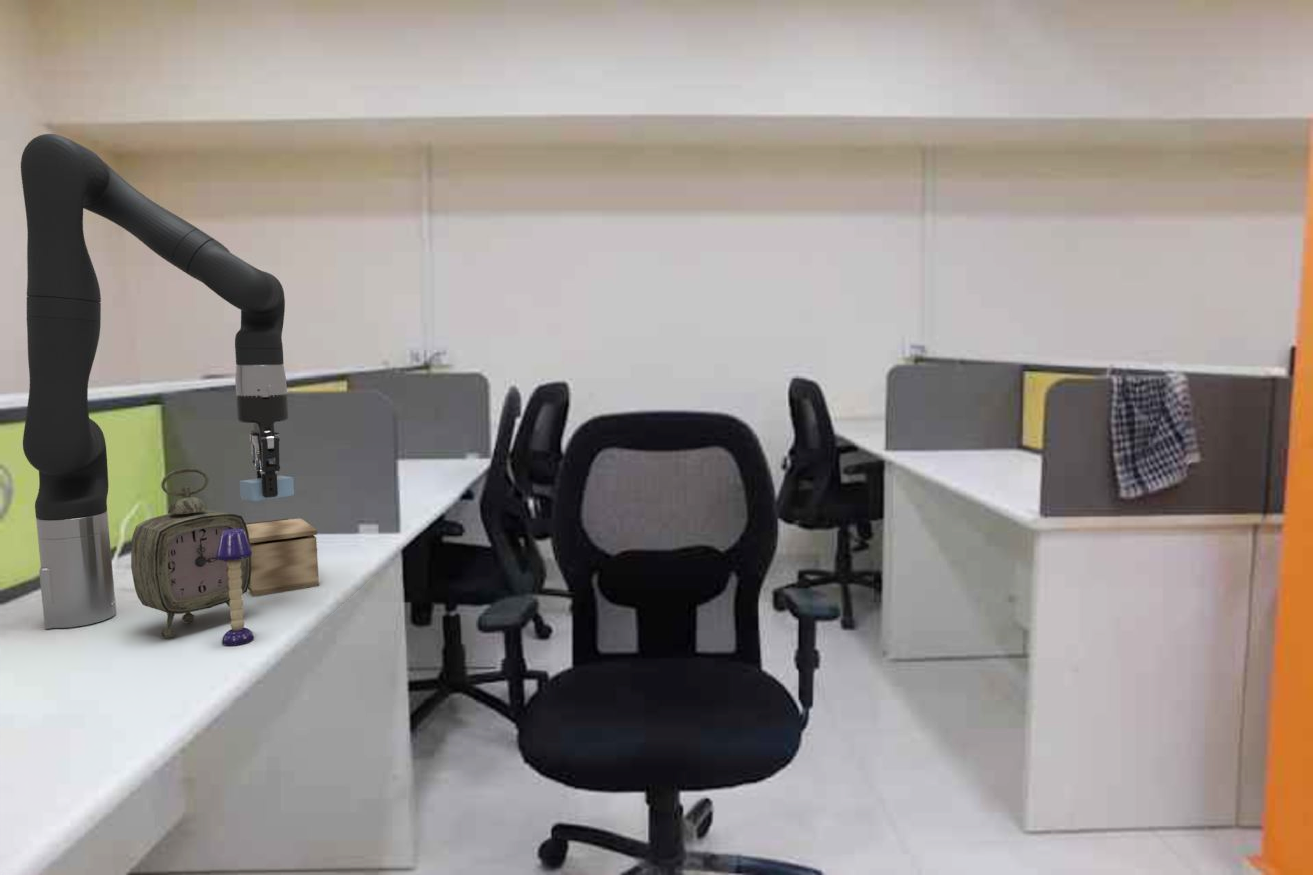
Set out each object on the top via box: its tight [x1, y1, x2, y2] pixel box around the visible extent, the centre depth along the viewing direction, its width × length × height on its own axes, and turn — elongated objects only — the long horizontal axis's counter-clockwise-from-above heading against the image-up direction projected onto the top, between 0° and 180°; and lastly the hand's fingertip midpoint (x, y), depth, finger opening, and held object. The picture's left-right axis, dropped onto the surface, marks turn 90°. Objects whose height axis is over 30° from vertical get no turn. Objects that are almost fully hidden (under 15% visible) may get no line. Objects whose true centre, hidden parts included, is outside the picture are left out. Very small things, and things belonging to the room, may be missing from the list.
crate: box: [248, 535, 320, 597], centre depth 149 cm, size 11×16×9 cm
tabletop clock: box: [130, 467, 251, 639], centre depth 124 cm, size 14×9×25 cm, turn 147°
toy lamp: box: [216, 529, 255, 646], centre depth 117 cm, size 5×5×17 cm
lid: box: [246, 518, 318, 543], centre depth 148 cm, size 11×16×1 cm
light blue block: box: [239, 475, 295, 502], centre depth 132 cm, size 7×4×3 cm, turn 144°
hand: (267, 493), depth 132 cm, fingers closed on light blue block, 5 cm apart
